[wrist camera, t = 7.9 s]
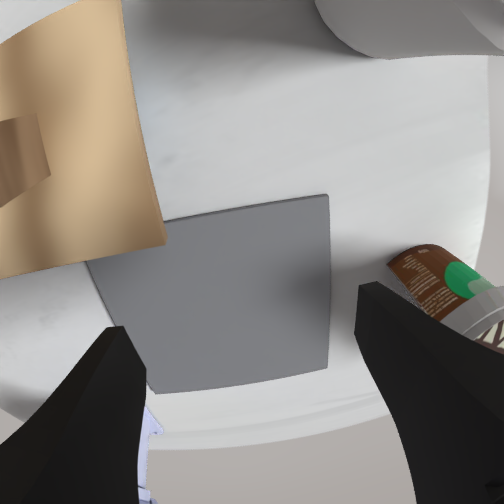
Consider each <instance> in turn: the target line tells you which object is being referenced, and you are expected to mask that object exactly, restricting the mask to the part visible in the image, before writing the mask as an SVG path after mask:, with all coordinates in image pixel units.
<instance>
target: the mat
mask: <svg viewBox="0 0 504 504" xmlns="http://www.w3.org/2000/svg"><path fill="white" fill-rule="evenodd" d="M164 225H165V229H166V232H167V236H168V239H167V242H166V245H163V246H158V247H153V248H147V249H142V250H137V251H132V252H127V253H122V254H117V255H112V256H107V257H102V258H97V259H92V260H87V261H86V263H87V265H88V267H89V270H90V272H91V274H92V277H93V279H94V281H95V283H96V286H97V288H98V290H99V292H100V294H101V297H102V299H103V301H104V303H105V305H106V307H107V309H108V311H109V313H110V315H111V317H112V319H113V321H114V323H115V325H116V326H124V328H125V330H126V332H127V334H128V335H129V337H130V339H131V341H132V343H133V345H134V347H135V349H136V351H137V352H138V354H139V356H140V358H141V360H142V361H143V363H144V365H145V367H146V368H147V373H146V380H147V382H148V383H149V385H150V387H151V388H152V390H153V391H154V393H155V394H167V393H179V392H190V391H199V390H208V389H216V388H224V387H231V386H238V385H245V384H251V383H257V382H263V381H269V380H274V379H279V378H285V377H290V376H294V375H299V374H304V373H308V372H313V371H317V370H322V369H326V368H327V366H328V348H329V325H330V212H329V196H328V195H327V194H323V195H316V196H309V197H302V198H295V199H289V200H282V201H276V202H270V203H263V204H257V205H251V206H245V207H240V208H234V209H228V210H222V211H217V212H211V213H206V214H200V215H195V216H190V217H185V218H179V219H174V220H169V221H164Z"/></svg>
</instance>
